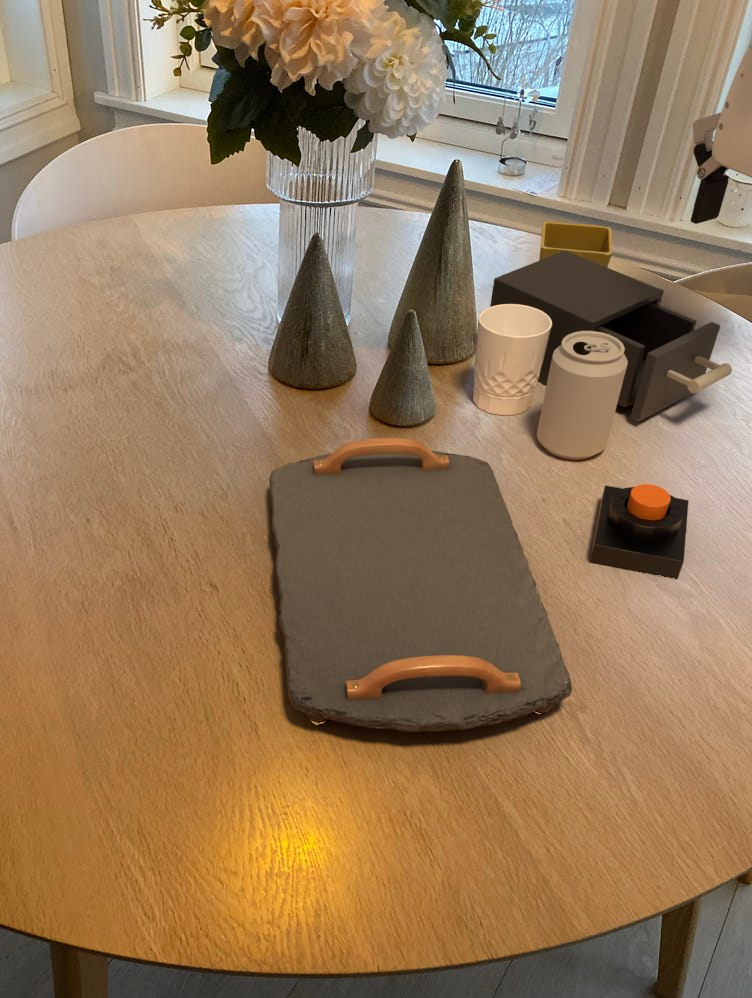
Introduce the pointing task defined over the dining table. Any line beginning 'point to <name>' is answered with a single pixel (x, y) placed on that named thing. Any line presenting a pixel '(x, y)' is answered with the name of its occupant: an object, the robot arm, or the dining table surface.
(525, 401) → the white cup
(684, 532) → the panel
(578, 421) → the can
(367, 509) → the serving tray
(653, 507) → the button
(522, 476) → the dining table surface
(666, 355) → the drawer
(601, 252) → the flower pot
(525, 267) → the cabinet
